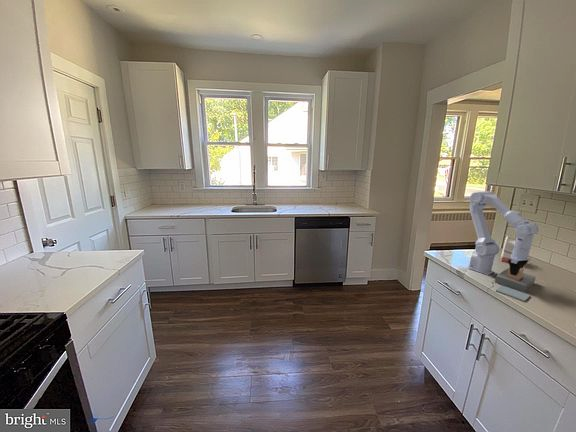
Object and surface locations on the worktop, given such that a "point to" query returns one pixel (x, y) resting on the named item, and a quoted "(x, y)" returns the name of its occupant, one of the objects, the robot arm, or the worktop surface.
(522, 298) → the mat
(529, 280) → the plate
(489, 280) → the worktop surface
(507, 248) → the ink cartridge box
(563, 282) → the worktop surface
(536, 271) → the worktop surface
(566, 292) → the worktop surface
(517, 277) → the plug
